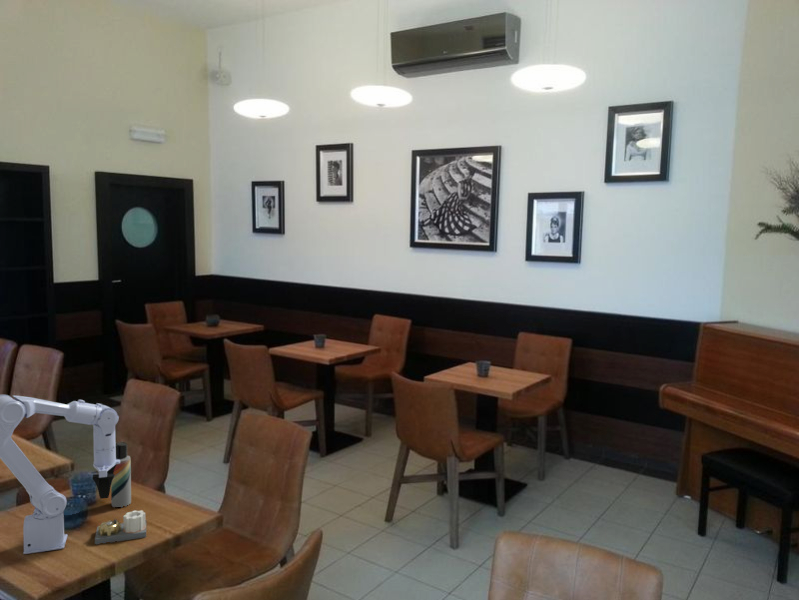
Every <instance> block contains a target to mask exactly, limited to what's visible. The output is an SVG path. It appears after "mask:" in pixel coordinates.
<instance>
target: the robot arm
mask: <svg viewBox="0 0 799 600" xmlns="http://www.w3.org/2000/svg"><path fill="white" fill-rule="evenodd" d="M35 414H42V415H52V416H58V417H59V416H60V417H64V418H65V421H67V422H70V423H74V424H82V425H83V424H84V425H89V426H90V425H92V426H93V428H92V429H93V433H92V434H93V437H92V438H93V463H92V464H93V465H92V467H93V468H94V469H96V471H97V472H98V473H95V474H92V480H93V482H94V483H95V485H96V488H97V491H98V495H99V498H100V499H108V498H109V496H110V493H111V483H112V480H113V478H114V476H115V474H113V472H114V469H115V467H116V465H117V464H120V460H116V443H117V442H116V441H117V440H116V425H117V424H118V422H119V420H120V419H119V418H120V415H118V413H117V411H116V410H115V409H114V408H112V407H110V406H108V405H105V404H103V403H98V402H96V404H94V403H89V402H86V401H85V400H83V399H78V400H77V401H76V400H73V401H71V402H69V403H67V404H65V403H61V402H56V401H51V400H47V399H42V398H41V399H40V398H36V397H30V396H22V395H12V396H11V395H8V394H0V460H1V461H2V463H3V464H4V465H5V466H6V467H7V468H8V469H9V471H10V472H11V474H13V475H14V477H15V478H16V480H18V482H19V483H20V484H21V485H22V487H24V489H25V491H26V492H27V494H28V495H29V501H30V504H31V505H32V506H33V507H34V510H33V512H32V514H30V515H25V517H24V520H23V526H22V527H23V528H22V530H23V555H27V554H35V553H43V552H49V551H55V550H62V549H64V548H65V546H66V541H67V539H68V534H67V533H65V517H64V514H65V513H64V512H65V509H66V506H67V503H68V501H67V497H66V496H65V495H64V494H62V493H60V492H59V491H58V490H56V489H55V488H54V486H52V485H50V484H49V483H48V482H47V481H46V479H45V478H44V477H43V476H42V475H41V473H40V472H39V470H37V468H36V467H35V465H34V464H33V463H32V462H31V461H30V460H29V458H28V457H27V456H26V455H25V453H24V452H23V451H22V449H21V448H20V446H18V445H17V443H16V442H15V441H14V440H13V438H12V437H13V436H12V435H13V433H14V430H15V429H16V428H17V427H18V425H20V423H21V422H22V421H23V419H24V417H25V418H26V419H28V418H30V417H31V416H33V415H35Z"/></svg>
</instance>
